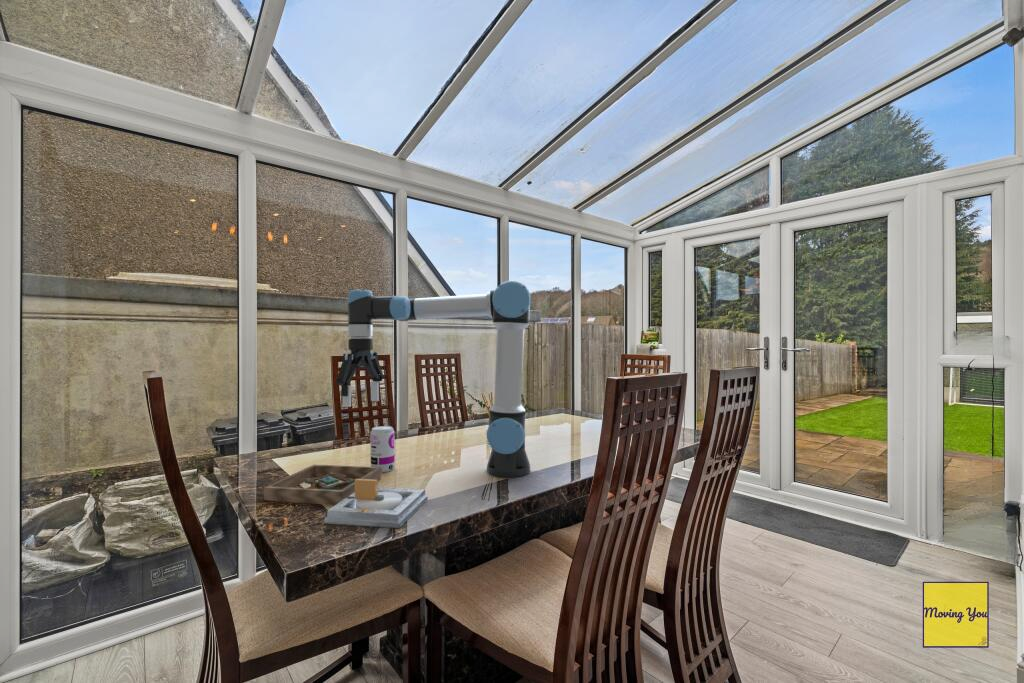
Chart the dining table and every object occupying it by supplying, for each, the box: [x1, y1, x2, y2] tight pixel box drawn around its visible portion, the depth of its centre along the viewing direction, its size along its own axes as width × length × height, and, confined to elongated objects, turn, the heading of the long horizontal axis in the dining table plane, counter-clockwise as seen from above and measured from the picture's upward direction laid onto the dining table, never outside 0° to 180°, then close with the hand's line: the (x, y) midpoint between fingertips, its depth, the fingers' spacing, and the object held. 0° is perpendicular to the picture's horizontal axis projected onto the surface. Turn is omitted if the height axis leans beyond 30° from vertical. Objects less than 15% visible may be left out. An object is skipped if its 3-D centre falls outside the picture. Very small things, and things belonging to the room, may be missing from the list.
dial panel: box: [323, 486, 429, 529], centre depth 125 cm, size 20×20×3 cm
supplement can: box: [369, 425, 396, 473], centre depth 163 cm, size 8×8×15 cm
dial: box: [354, 478, 402, 510], centre depth 125 cm, size 13×12×7 cm
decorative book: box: [304, 472, 356, 490], centre depth 142 cm, size 13×18×5 cm
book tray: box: [263, 463, 383, 506], centre depth 142 cm, size 24×24×4 cm
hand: (361, 403), depth 149 cm, fingers open, 13 cm apart
